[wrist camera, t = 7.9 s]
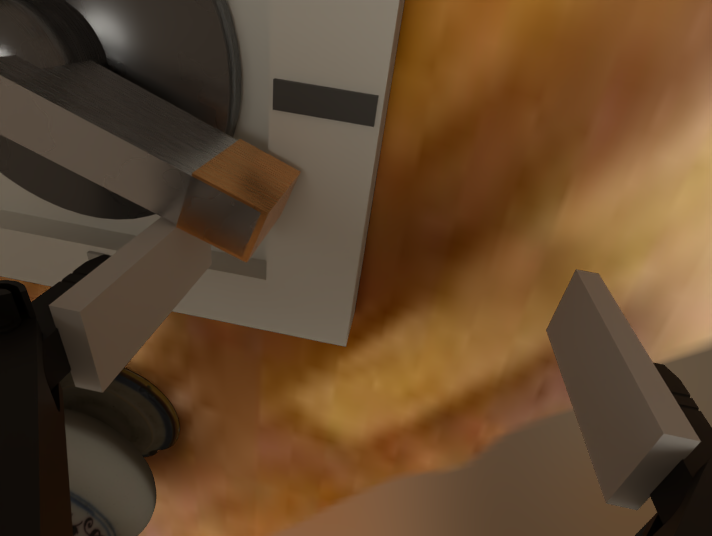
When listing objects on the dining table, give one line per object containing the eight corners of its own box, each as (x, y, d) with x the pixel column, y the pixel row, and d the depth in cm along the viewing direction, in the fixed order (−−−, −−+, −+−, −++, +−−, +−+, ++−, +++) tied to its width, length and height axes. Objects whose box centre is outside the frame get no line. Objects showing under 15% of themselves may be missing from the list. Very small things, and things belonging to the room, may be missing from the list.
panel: (-364, -438, 12) (-558, -544, 10) (461, -355, 11) (469, -457, 8) (-59, 230, 24) (-114, 255, 22) (354, 312, 23) (345, 349, 20)
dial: (-78, 119, 19) (-244, 157, 14) (-116, -293, 12) (-462, -478, 7) (252, 284, 21) (201, 365, 16) (380, 13, 14) (353, 20, 10)
